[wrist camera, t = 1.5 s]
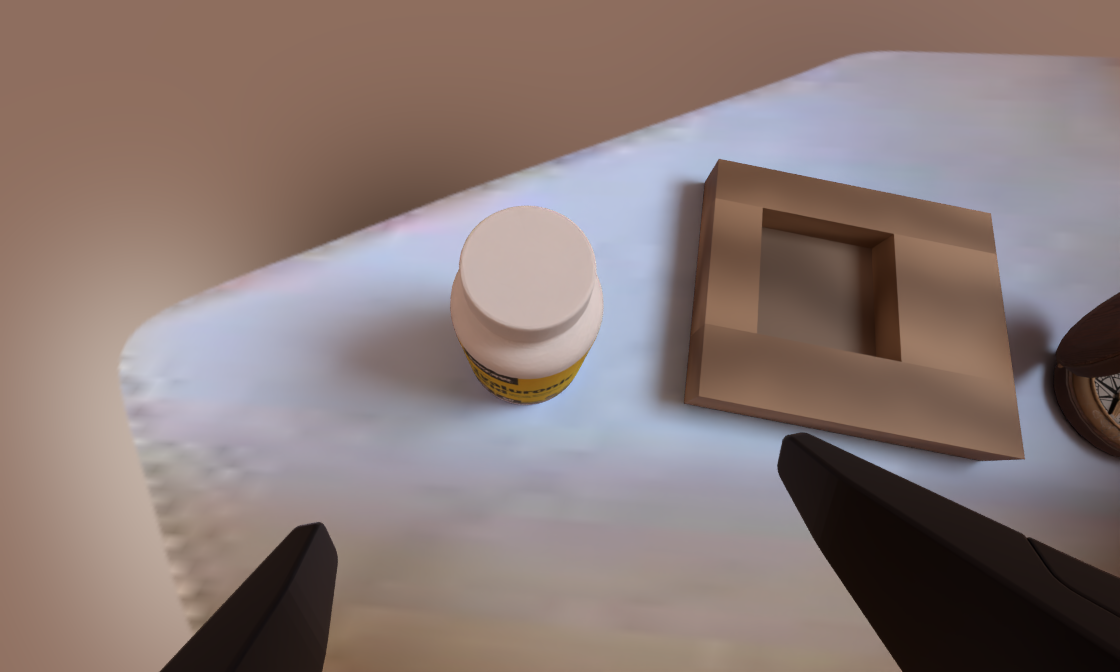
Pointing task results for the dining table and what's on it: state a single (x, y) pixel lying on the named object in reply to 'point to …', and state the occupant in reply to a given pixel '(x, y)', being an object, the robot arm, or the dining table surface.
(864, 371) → the socket board
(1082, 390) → the compass
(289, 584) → the robot arm
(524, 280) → the supplement bottle
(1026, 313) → the dining table surface
